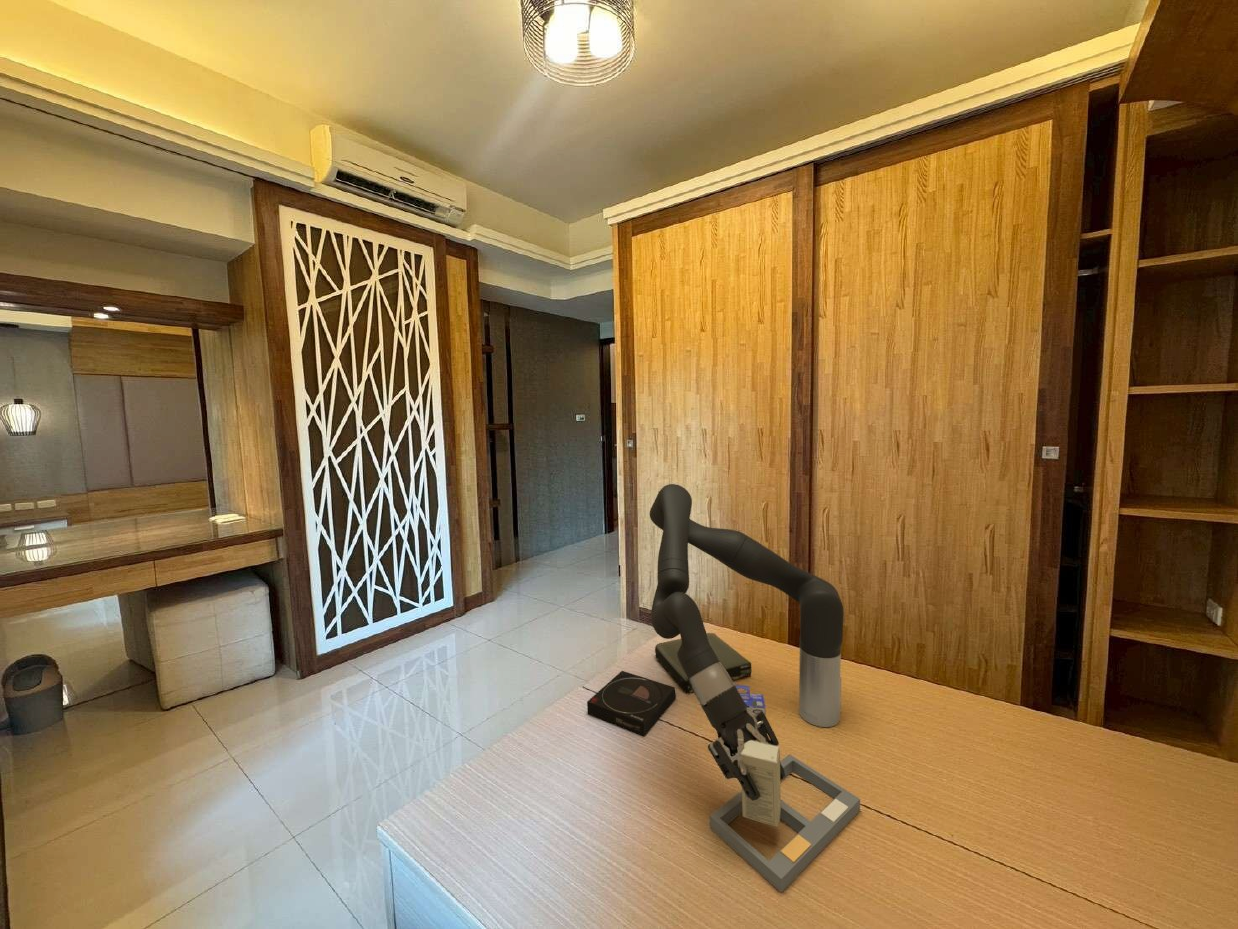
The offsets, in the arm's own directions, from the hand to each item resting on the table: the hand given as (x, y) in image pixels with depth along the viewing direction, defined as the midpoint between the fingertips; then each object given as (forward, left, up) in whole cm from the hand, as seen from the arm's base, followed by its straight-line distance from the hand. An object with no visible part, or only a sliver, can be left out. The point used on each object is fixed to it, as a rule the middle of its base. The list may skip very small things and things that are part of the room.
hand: (769, 788), depth 82 cm
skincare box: (0, -2, -6) cm, 6 cm away
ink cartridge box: (-14, -17, -10) cm, 24 cm away
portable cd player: (-5, -45, -11) cm, 47 cm away
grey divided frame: (-6, -1, -10) cm, 12 cm away
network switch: (-32, -47, -11) cm, 58 cm away
